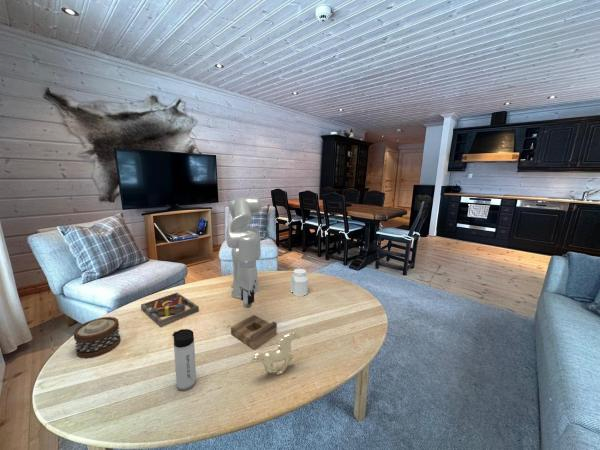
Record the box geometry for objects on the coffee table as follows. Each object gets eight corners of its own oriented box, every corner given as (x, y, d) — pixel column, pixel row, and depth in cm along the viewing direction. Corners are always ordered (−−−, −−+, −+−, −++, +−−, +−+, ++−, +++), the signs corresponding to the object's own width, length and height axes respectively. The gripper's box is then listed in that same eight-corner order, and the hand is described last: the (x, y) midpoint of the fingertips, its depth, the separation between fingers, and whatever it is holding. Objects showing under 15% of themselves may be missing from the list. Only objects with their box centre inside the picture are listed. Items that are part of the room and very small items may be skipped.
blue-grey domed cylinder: (241, 305, 111) (241, 289, 109) (248, 302, 114) (248, 286, 112) (246, 308, 108) (246, 292, 107) (253, 305, 111) (253, 289, 110)
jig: (231, 334, 113) (230, 323, 112) (253, 321, 124) (253, 310, 123) (253, 350, 104) (253, 337, 103) (276, 334, 115) (276, 323, 114)
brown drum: (113, 329, 97) (64, 338, 91) (116, 353, 99) (68, 363, 93) (122, 311, 110) (81, 317, 104) (125, 332, 112) (84, 340, 106)
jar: (309, 295, 155) (310, 273, 152) (295, 297, 151) (296, 275, 148) (301, 287, 165) (302, 267, 162) (288, 290, 161) (289, 268, 158)
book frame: (141, 309, 132) (140, 304, 131) (177, 297, 147) (177, 292, 146) (160, 327, 117) (160, 321, 116) (198, 311, 132) (198, 306, 131)
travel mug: (180, 376, 89) (176, 327, 85) (198, 376, 89) (196, 327, 86) (172, 391, 83) (168, 339, 79) (192, 390, 83) (189, 338, 79)
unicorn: (252, 387, 85) (251, 343, 82) (248, 379, 89) (248, 337, 86) (301, 368, 95) (303, 328, 92) (296, 361, 98) (298, 323, 95)
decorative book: (154, 308, 134) (153, 300, 133) (186, 302, 140) (185, 294, 139) (150, 319, 124) (149, 310, 123) (185, 313, 130) (184, 304, 129)
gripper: (229, 260, 110) (229, 298, 113) (252, 270, 99) (252, 311, 102) (242, 256, 115) (243, 292, 119) (266, 265, 105) (266, 304, 108)
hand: (247, 300), depth 110 cm, fingers closed on blue-grey domed cylinder, 4 cm apart
